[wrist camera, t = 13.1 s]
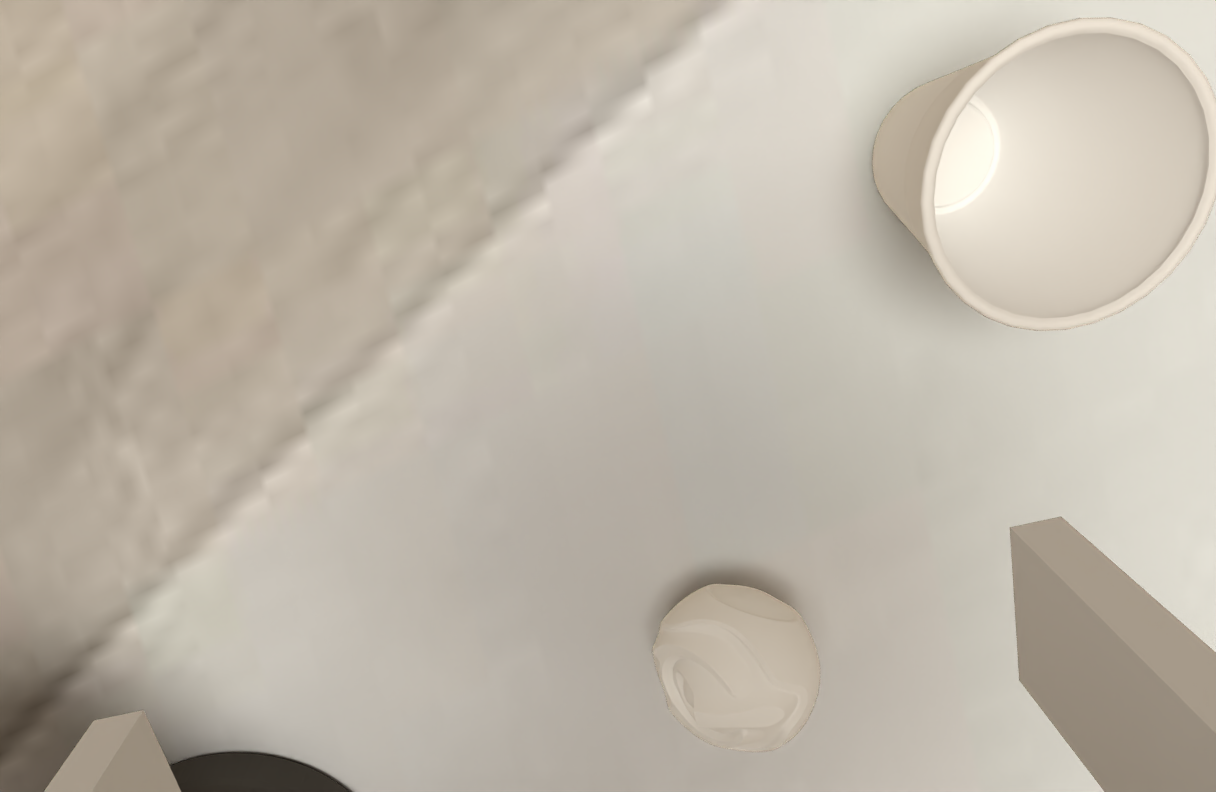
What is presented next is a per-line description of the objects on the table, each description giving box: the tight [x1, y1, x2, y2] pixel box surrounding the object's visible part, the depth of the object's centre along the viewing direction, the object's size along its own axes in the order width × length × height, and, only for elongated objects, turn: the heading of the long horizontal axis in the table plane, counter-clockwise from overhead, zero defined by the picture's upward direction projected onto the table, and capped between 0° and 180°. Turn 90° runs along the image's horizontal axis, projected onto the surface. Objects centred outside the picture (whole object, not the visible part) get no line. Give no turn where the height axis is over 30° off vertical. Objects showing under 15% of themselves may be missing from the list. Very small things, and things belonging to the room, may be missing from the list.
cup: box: [872, 17, 1216, 331], centre depth 35 cm, size 10×10×11 cm
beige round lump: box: [652, 584, 820, 752], centre depth 44 cm, size 8×8×8 cm
